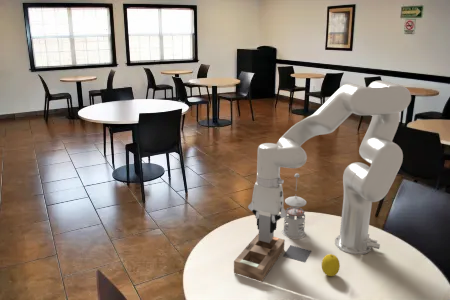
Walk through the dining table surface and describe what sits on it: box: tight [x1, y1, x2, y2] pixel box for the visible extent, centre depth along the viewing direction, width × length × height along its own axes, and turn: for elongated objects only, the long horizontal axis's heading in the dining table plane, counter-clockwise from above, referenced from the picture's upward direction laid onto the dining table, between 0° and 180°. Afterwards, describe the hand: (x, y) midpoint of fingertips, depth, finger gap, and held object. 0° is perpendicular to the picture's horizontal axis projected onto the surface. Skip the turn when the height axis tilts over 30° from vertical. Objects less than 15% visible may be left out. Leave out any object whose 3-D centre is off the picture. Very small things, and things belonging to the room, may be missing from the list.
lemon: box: [321, 253, 341, 277], centre depth 121 cm, size 6×6×8 cm
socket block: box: [233, 232, 286, 283], centre depth 130 cm, size 10×20×5 cm, turn 152°
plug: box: [258, 210, 275, 243], centre depth 131 cm, size 4×4×12 cm
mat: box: [282, 244, 313, 263], centre depth 134 cm, size 8×8×1 cm
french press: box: [281, 173, 307, 240], centre depth 145 cm, size 10×12×25 cm
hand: (266, 229), depth 132 cm, fingers closed on plug, 4 cm apart
